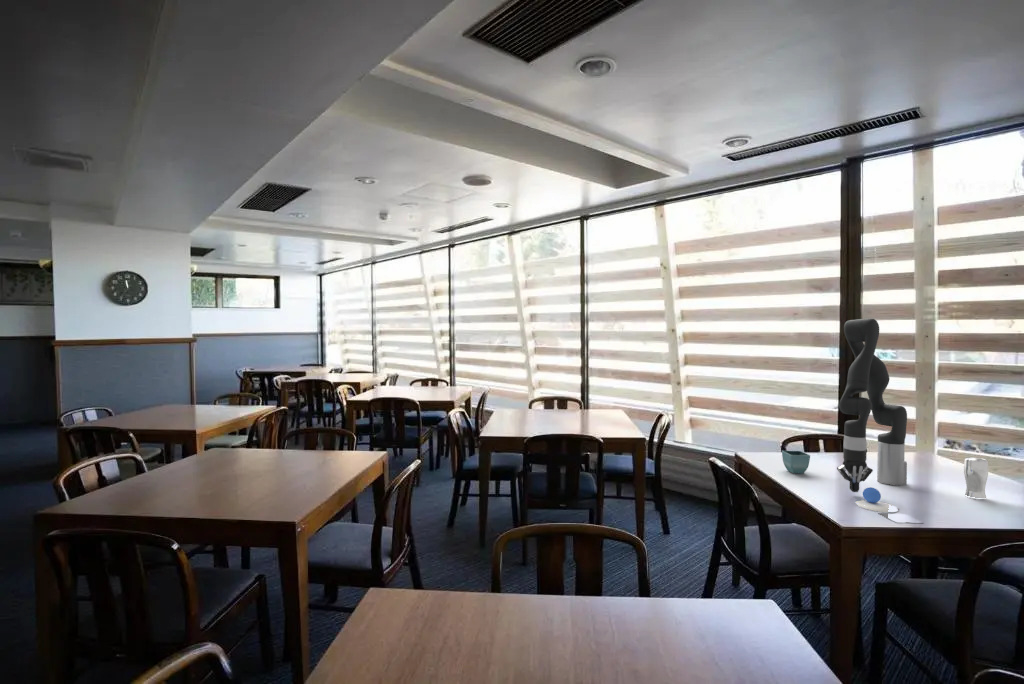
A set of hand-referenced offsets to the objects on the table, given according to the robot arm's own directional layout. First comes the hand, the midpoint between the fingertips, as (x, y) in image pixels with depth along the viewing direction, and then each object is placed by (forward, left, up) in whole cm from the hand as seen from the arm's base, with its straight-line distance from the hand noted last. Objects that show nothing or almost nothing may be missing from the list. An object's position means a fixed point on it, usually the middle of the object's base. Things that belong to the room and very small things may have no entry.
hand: (854, 491), depth 199 cm
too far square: (0, +25, -2) cm, 25 cm away
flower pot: (+6, -33, -2) cm, 34 cm away
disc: (0, +13, -2) cm, 13 cm away
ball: (-1, +8, +1) cm, 9 cm away
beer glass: (-45, +1, -2) cm, 45 cm away
